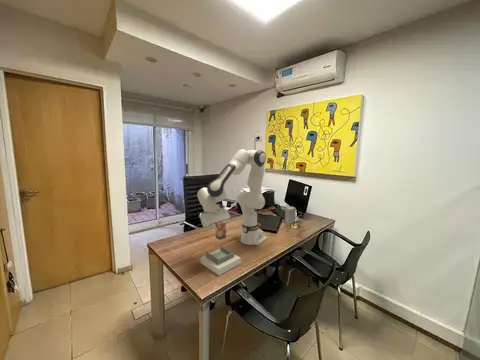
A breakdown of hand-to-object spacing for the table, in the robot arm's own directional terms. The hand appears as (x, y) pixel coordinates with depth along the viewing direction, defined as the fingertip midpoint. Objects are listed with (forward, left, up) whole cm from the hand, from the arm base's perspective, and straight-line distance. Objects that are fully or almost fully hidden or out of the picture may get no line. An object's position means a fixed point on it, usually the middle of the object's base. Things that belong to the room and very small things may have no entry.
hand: (221, 229), depth 126 cm
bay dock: (0, -1, -23) cm, 23 cm away
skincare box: (-97, -10, -23) cm, 100 cm away
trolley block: (0, -1, -6) cm, 6 cm away
